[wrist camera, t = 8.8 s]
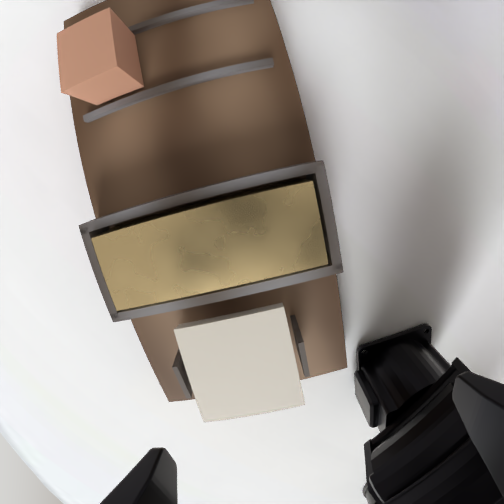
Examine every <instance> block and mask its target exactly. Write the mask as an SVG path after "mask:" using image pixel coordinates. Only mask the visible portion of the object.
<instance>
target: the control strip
mask: <svg viewBox="0 0 504 504" xmlns="http://www.w3.org/2000/svg"><path fill="white" fill-rule="evenodd" d="M109 7H110V8H111V9H112V10H113V12H114V13H115V14H116V15H117V16H118V17H119V18H120V19H121V20H122V22H123V23H124V24H125V25H126V26H127V27H128V28H129V29H130V31H131V32H132V33H133V34H134V35H135V39H136V45H137V51H138V56H139V62H140V67H141V73H142V78H143V83H144V87H142V88H139V89H137V90H134V91H131V92H129V93H126V94H123V95H121V96H118V97H116V98H113V99H111V100H109V101H106V102H104V103H102V104H99V105H95V104H92V103H89V102H87V101H84V100H81V99H78V98H75V97H73V96H70V100H71V107H72V113H73V119H74V125H75V131H76V136H77V142H78V147H79V152H80V157H81V161H82V166H83V170H84V175H85V179H86V183H87V187H88V191H89V195H90V199H91V203H92V206H93V210H94V214H95V217H96V219H94V220H91V221H89V222H86V223H84V224H81V225H79V228H80V232H81V235H82V238H83V242H84V245H85V248H86V251H87V254H88V257H89V260H90V263H91V266H92V269H93V272H94V274H95V277H96V280H97V283H98V285H99V288H100V291H101V293H102V296H103V298H104V301H105V303H106V306H107V308H108V311H109V313H110V316H111V318H112V320H113V322H118V321H123V320H129V319H131V321H132V323H133V326H134V328H135V330H136V333H137V335H138V337H139V340H140V342H141V344H142V347H143V349H144V351H145V353H146V355H147V358H148V360H149V362H150V364H151V366H152V368H153V370H154V373H155V375H156V377H157V379H158V381H159V383H160V385H161V387H162V389H163V391H164V393H165V395H166V397H167V398H168V400H169V402H173V401H182V400H191V399H195V396H194V393H193V390H192V387H191V384H190V381H189V378H188V375H187V372H186V369H185V366H184V363H183V360H182V356H181V353H180V350H179V347H178V343H177V340H176V336H175V333H174V329H175V328H176V327H177V326H178V325H179V324H183V323H188V322H194V321H199V320H204V319H209V318H214V317H219V316H223V315H228V314H233V313H238V312H242V311H247V310H251V309H256V308H260V307H265V306H269V305H273V304H278V303H283V305H284V309H285V314H286V318H287V323H288V327H289V332H290V336H291V341H292V345H293V350H294V355H295V359H296V364H297V369H298V373H299V378H300V380H302V379H306V378H310V377H314V376H318V375H322V374H326V373H330V372H333V371H337V370H340V369H344V368H347V359H346V349H345V339H344V330H343V321H342V313H341V305H340V297H339V290H338V283H337V276H336V274H338V273H342V272H343V267H342V260H341V254H340V247H339V241H338V235H337V229H336V223H335V217H334V212H333V206H332V201H331V196H330V191H329V186H328V181H327V176H326V171H325V166H324V162H323V161H315V157H314V153H313V148H312V144H311V140H310V135H309V131H308V127H307V123H306V119H305V115H304V111H303V107H302V103H301V100H300V96H299V92H298V88H297V85H296V81H295V78H294V74H293V71H292V67H291V64H290V60H289V57H288V54H287V50H286V47H285V44H284V41H283V37H282V34H281V31H280V28H279V25H278V22H277V19H276V16H275V13H274V10H273V7H272V4H271V1H270V0H106V1H104V2H102V3H99V4H97V5H95V6H93V7H91V8H89V9H87V10H85V11H83V12H81V13H79V14H77V15H75V16H73V17H71V18H69V19H67V20H66V21H64V29H66V28H68V27H70V26H72V25H73V24H75V23H77V22H79V21H81V20H83V19H85V18H87V17H89V16H91V15H93V14H96V13H98V12H100V11H102V10H104V9H107V8H109ZM300 179H305V180H311V181H313V184H314V189H315V194H316V199H317V204H318V209H319V214H320V220H321V225H322V230H323V236H324V242H325V247H326V253H327V259H328V264H326V265H322V266H318V267H314V268H310V269H306V270H302V271H297V272H293V273H289V274H285V275H281V276H276V277H272V278H268V279H263V280H259V281H255V282H250V283H246V284H242V285H237V286H233V287H228V288H224V289H219V290H215V291H210V292H206V293H201V294H196V295H192V296H187V297H182V298H178V299H173V300H168V301H163V302H158V303H154V304H149V305H144V306H139V307H134V308H129V309H124V310H119V311H117V310H116V307H115V305H114V302H113V300H112V297H111V295H110V292H109V289H108V287H107V284H106V281H105V278H104V276H103V273H102V270H101V267H100V264H99V261H98V258H97V255H96V252H95V249H94V246H93V243H92V240H91V238H93V237H95V236H97V235H99V234H101V233H103V232H105V231H107V230H109V229H111V228H114V227H117V226H120V225H124V224H127V223H130V222H134V221H137V220H141V219H144V218H147V217H151V216H154V215H158V214H162V213H165V212H169V211H172V210H176V209H180V208H183V207H187V206H191V205H195V204H198V203H202V202H206V201H210V200H214V199H218V198H222V197H226V196H230V195H234V194H238V193H242V192H247V191H251V190H255V189H259V188H264V187H268V186H272V185H277V184H281V183H286V182H291V181H295V180H300Z"/></svg>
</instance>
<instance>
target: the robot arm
mask: <svg viewBox="0 0 504 504" xmlns="http://www.w3.org/2000/svg"><path fill="white" fill-rule="evenodd" d="M425 329H426V331H425ZM431 331H432V329H431V326H430V325H428V324H423V325H420V326H417V327H414V328H412V329H409V330H406V331H403V332H400V333H397V334H394V335H391V336H388V337H385V338H382V339H379V340H376V341H373V342H370V343H366V344H363V345H361V346H359V347H358V349H357V367H358V370H357V371H356V372H355V373H354V379H355V395H356V397H357V399H358V402H359V404H360V406H361V408H362V411H363V413H364V415H365V417H366V420H367V422H368V424H369V426H370V427H372V428H374V427H376V426H378V428H379V431H380V433H379V434H378V435H377V436H375V437H374V438H373V439H372V440H371V439H370V440H368V441H367V442H366V443H365V444H364V451H365V464H366V479H367V486H368V491H369V493H370V494H371V495H372V497H373V498H374V500H375V501H376V502H377V503H378V504H504V384H502V383H499V382H496V381H494V380H491V379H488V378H485V377H483V376H480V375H477V374H475V373H472V372H471V371H470V370H469V369H468V368H467V367H466V366H465V365H464V364H463V363H462V362H461V361H460V360H459V359H458V358H457V357H456V359H455V360H454V361H453V362H452V365H450V364H449V363H448V362H447V361H446V360H445V359H444V358H443V356H442V355H441V354H440V353H439V352H438V351H437V350H436V349H435V348H434V347H433V346H432V345H431ZM363 350H365V352H363V353H361V352H362V351H363ZM100 504H177V466H176V463H175V461H174V460H173V458H172V457H171V455H170V454H169V453H168V451H167V450H166V449H165V448H152V449H150V450H149V452H148V453H147V454H146V455H145V456H144V457H143V458H142V459H141V460H140V461H139V463H138V464H137V465H136V466H135V467H134V468H133V469H132V470H131V471H130V472H129V473H128V475H127V476H126V477H125V478H124V479H123V480H122V481H121V482H120V483H119V484H118V485H117V486H116V487H115V488H114V489H113V491H112V492H111V493H110V494H109V495H108V496H107V497H106V498H105V499H104V500H103V501H102V502H101V503H100Z"/></svg>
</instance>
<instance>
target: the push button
mask: <svg viewBox="0 0 504 504" xmlns="http://www.w3.org/2000/svg"><path fill="white" fill-rule="evenodd" d="M91 240H92V243H93V246H94V249H95V252H96V255H97V258H98V261H99V264H100V267H101V270H102V273H103V276H104V278H105V281H106V284H107V287H108V289H109V292H110V295H111V297H112V300H113V302H114V305H115V307H116V310H117V311H119V310H124V309H129V308H134V307H139V306H144V305H149V304H154V303H158V302H163V301H168V300H173V299H178V298H182V297H187V296H192V295H196V294H201V293H206V292H210V291H215V290H219V289H224V288H228V287H233V286H237V285H242V284H246V283H250V282H255V281H259V280H263V279H268V278H272V277H276V276H281V275H285V274H289V273H293V272H297V271H302V270H306V269H310V268H314V267H318V266H322V265H326V264H328V259H327V253H326V247H325V242H324V236H323V230H322V225H321V220H320V214H319V209H318V204H317V199H316V194H315V189H314V184H313V181H311V180H305V179H300V180H295V181H291V182H286V183H281V184H277V185H272V186H268V187H264V188H259V189H255V190H251V191H247V192H242V193H238V194H234V195H230V196H226V197H222V198H218V199H214V200H210V201H206V202H202V203H198V204H195V205H191V206H187V207H183V208H180V209H176V210H172V211H169V212H165V213H162V214H158V215H154V216H151V217H147V218H144V219H141V220H137V221H134V222H130V223H127V224H124V225H120V226H117V227H114V228H111V229H109V230H107V231H105V232H103V233H101V234H99V235H97V236H95V237H93V238H91Z"/></svg>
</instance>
